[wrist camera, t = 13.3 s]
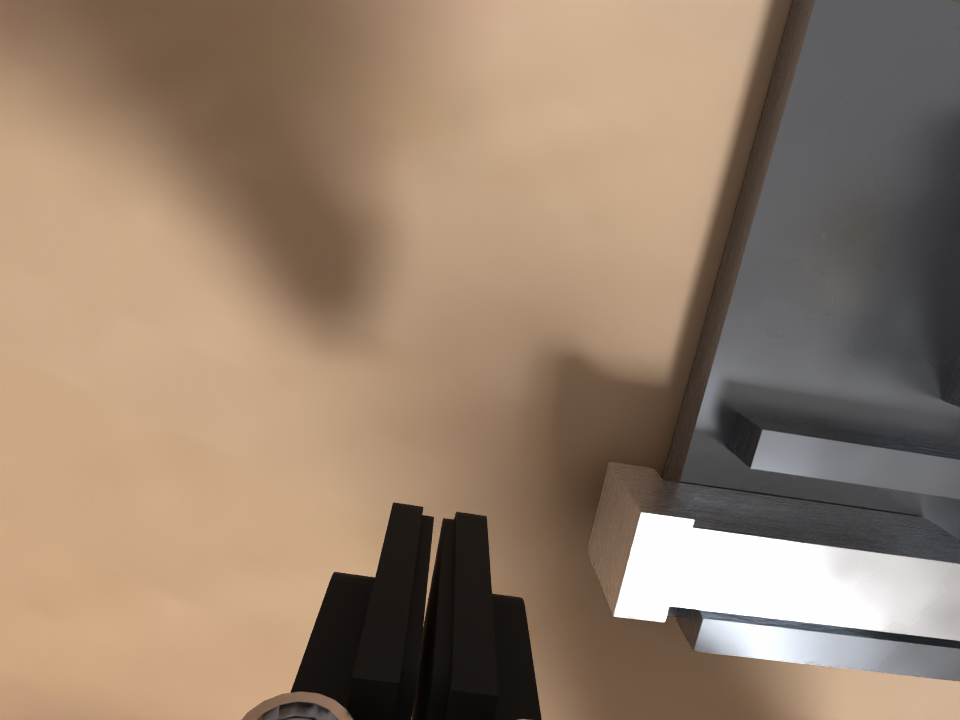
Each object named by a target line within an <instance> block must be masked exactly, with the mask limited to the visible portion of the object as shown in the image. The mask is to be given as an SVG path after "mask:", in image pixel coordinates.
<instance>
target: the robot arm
mask: <svg viewBox="0 0 960 720" xmlns="http://www.w3.org/2000/svg"><path fill="white" fill-rule="evenodd" d="M422 513H423V507H420V506H414V505H407V504H400V503H393V505H392V510H391V514H390V518H389V522H388V526H387V531H386V535H385V539H384V543H383V547H382V552H381V556H380V560H379V564H378V569H377V573H376V577H368V576H360V575H353V574H346V573H339V572H334V573H333V575H332V577H331V580H330V583H329V585H328V588H327V591H326V594H325V597H324V600H323V602H322V605H321V608H320V611H319V614H318V616H317V619H316V622H315V625H314V628H313V631H312V633H311V636H310V639H309V642H308V645H307V648H306V650H305V653H304V656H303V659H302V662H301V665H300V667H299V670H298V673H297V676H296V679H295V682H294V684H293V687H292V690H291V693H286V694H281V695H278V696H276V697H273V698H270V699H268V700H265V701H263V702H262V703H260V704H259V705H257V706H256V707H255V708H253V709H252V710H250V711H249V712H248V713H247V714H246V715H245V716H244V717H243V719H242V720H411V718H412V720H541V713H540V706H539V699H538V693H537V686H536V679H535V672H534V665H533V658H532V651H531V645H530V638H529V631H528V624H527V617H526V610H525V605H524V600H523V599H522V598H519V597H512V596H505V595H498V594H492V588H491V573H490V558H489V543H488V528H487V517H486V516H481V515H475V514H468V513H461V512H456V514H455V518H454V520H452V519H445V518H443V522H442V527H441V532H440V538H439V543H438V549H437V554H436V560H435V565H434V571H433V576H432V582H431V588H430V593H429V599H428V604H427V610H426V615H425V621H424V613H425V603H426V593H427V582H428V572H429V562H430V552H431V542H432V532H433V522H434V517H432V516H425V515H422ZM423 623H424V626H423Z"/></svg>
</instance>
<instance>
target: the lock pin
mask: <svg viewBox="0 0 960 720" xmlns="http://www.w3.org/2000/svg"><path fill="white" fill-rule="evenodd" d="M587 553H588V555H589V558H590V560H591V563H592V565H593V567H594V570H595V572H596V575H597V577H598V580H599V582H600V585H601V587H602V590H603V592H604V594H605V597H606V599H607V602H608V604H609V607H610V609H611V612H612V614H613V616H614V617H622V618H631V619H639V620H648V621H656V622H665V620H666V616H667V613H668V609H669V606H674V607H683V608H691V609H699V610H708V611H716V612H724V613H733V614H741V615H749V616H757V617H766V618H774V619H782V620H791V621H799V622H807V623H815V624H824V625H832V626H840V627H849V628H857V629H865V630H874V631H882V632H890V633H898V634H907V635H915V636H923V637H932V638H940V639H948V640H956V641H960V540H959V539H957V538H956V537H954V536H953V535H951V534H950V533H948V532H947V531H945V530H944V529H942V528H941V527H939V526H937V525H936V524H934V523H933V522H931V521H930V520H928V519H927V518H924V517H917V516H910V515H903V514H896V513H889V512H882V511H875V510H868V509H861V508H854V507H847V506H840V505H833V504H826V503H819V502H812V501H805V500H798V499H791V498H784V497H777V496H770V495H763V494H755V493H748V492H741V491H734V490H727V489H720V488H713V487H706V486H699V485H692V484H685V483H678V482H671V481H664V480H663V479H662V478H661V477H660V475H659V474H658V473H657V471H656V470H655V469H654V468H650V467H643V466H636V465H629V464H622V463H615V462H609V463H608V467H607V471H606V475H605V480H604V484H603V488H602V492H601V496H600V500H599V504H598V508H597V512H596V516H595V520H594V524H593V528H592V532H591V536H590V540H589V544H588V548H587Z"/></svg>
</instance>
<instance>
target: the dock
mask: <svg viewBox="0 0 960 720" xmlns="http://www.w3.org/2000/svg"><path fill="white" fill-rule="evenodd" d="M662 479H663V480H664V481H671V482H678V483H685V484H692V485H699V486H706V487H713V488H720V489H727V490H734V491H741V492H748V493H755V494H763V495H770V496H777V497H784V498H791V499H798V500H805V501H812V502H819V503H826V504H833V505H840V506H847V507H854V508H861V509H868V510H875V511H882V512H889V513H896V514H903V515H910V516H917V517H924V518H927V519H928V520H930V521H931V522H933V523H934V524H936V525H937V526H939V527H941V528H942V529H944V530H945V531H947V532H948V533H950V534H951V535H953V536H954V537H956V538H957V539H959V540H960V2H957V1H953V0H793V3H792V6H791V10H790V14H789V17H788V21H787V25H786V28H785V32H784V36H783V39H782V43H781V47H780V50H779V54H778V58H777V61H776V65H775V69H774V72H773V76H772V79H771V83H770V87H769V90H768V94H767V98H766V101H765V105H764V109H763V112H762V116H761V120H760V123H759V127H758V131H757V134H756V138H755V142H754V145H753V149H752V153H751V156H750V160H749V164H748V167H747V171H746V175H745V178H744V182H743V186H742V189H741V193H740V196H739V200H738V204H737V207H736V211H735V215H734V218H733V222H732V226H731V229H730V233H729V237H728V240H727V244H726V248H725V251H724V255H723V259H722V262H721V266H720V270H719V273H718V277H717V281H716V284H715V288H714V292H713V295H712V299H711V303H710V306H709V310H708V313H707V317H706V321H705V324H704V328H703V332H702V335H701V339H700V343H699V346H698V350H697V354H696V357H695V361H694V365H693V368H692V372H691V376H690V379H689V383H688V387H687V390H686V394H685V398H684V401H683V405H682V409H681V412H680V416H679V420H678V423H677V427H676V430H675V434H674V438H673V441H672V445H671V449H670V452H669V456H668V460H667V463H666V467H665V471H664V474H663V478H662ZM667 616H673V617H677V619H676V621H677V622H678V624H679V626H680V628H681V630H682V631H683V633H684V635H685V637H686V639H687V640H688V642H689V644H690V646H691V648H692V649H693V651H696V652H704V653H713V654H722V655H731V656H740V657H749V658H757V659H766V660H775V661H784V662H793V663H802V664H810V665H819V666H828V667H837V668H846V669H855V670H863V671H872V672H881V673H890V674H899V675H908V676H916V677H925V678H934V679H943V680H952V681H960V641H956V640H948V639H940V638H932V637H923V636H915V635H907V634H898V633H890V632H882V631H874V630H865V629H857V628H849V627H840V626H832V625H824V624H815V623H807V622H799V621H791V620H782V619H774V618H766V617H757V616H749V615H741V614H733V613H724V612H716V611H708V610H699V609H691V608H683V607H674V606H669V609H668V613H667Z"/></svg>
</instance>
